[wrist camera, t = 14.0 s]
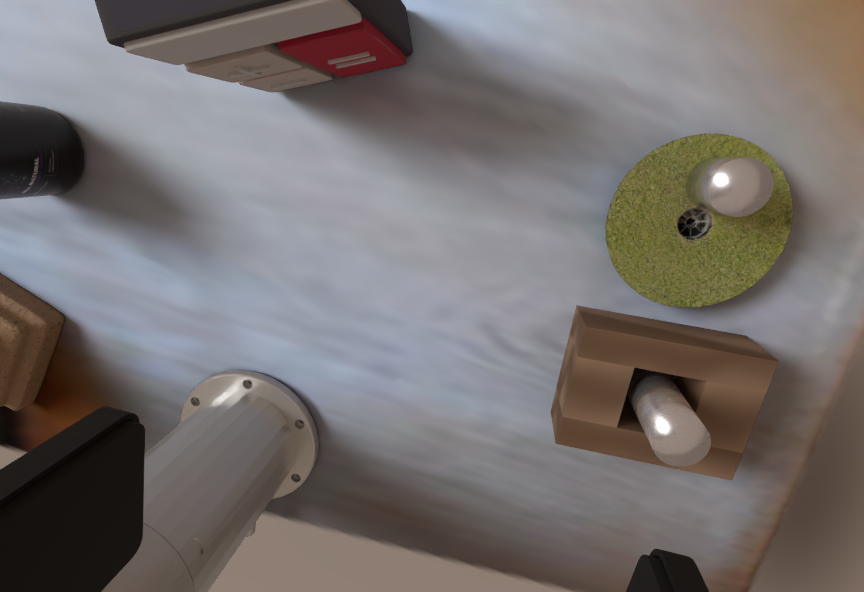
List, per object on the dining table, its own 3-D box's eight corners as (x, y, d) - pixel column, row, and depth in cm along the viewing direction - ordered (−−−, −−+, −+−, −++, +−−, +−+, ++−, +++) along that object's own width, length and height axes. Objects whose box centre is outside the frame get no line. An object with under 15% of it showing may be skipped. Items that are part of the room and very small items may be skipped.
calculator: (269, 98, 35) (108, 62, 21) (254, 33, 34) (73, -50, 20) (416, 67, 33) (347, 4, 19) (405, -3, 32) (322, -125, 18)
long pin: (657, 398, 37) (701, 471, 29) (614, 390, 38) (645, 460, 29) (669, 360, 36) (718, 424, 28) (625, 352, 37) (660, 413, 28)
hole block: (707, 443, 38) (732, 480, 33) (550, 411, 39) (555, 443, 35) (745, 335, 35) (778, 361, 31) (576, 305, 36) (585, 326, 32)
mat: (805, 150, 31) (824, 150, 29) (743, 313, 35) (756, 323, 33) (626, 121, 32) (633, 119, 30) (583, 282, 36) (587, 290, 34)
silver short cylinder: (731, 212, 31) (762, 221, 27) (679, 204, 31) (702, 211, 28) (748, 161, 30) (782, 162, 26) (694, 153, 30) (720, 153, 27)
